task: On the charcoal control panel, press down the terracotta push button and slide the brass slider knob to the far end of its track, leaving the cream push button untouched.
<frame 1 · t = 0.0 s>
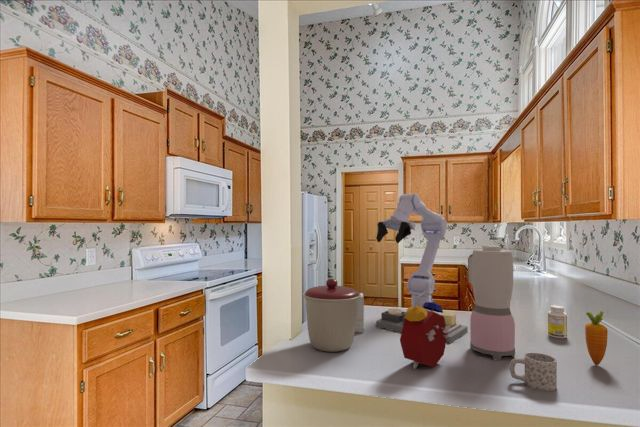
hand: (387, 240, 131), 32 cm above the worktop, tool tilted 50°, fingers open, 7 cm apart
control panel: (420, 329, 133), on the worktop
brass slider: (448, 320, 129), point 4 cm above the worktop, slide at 0.0 cm
mug: (532, 385, 89), on the worktop
blender: (487, 351, 111), on the worktop
canister: (331, 347, 114), on the worktop
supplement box: (353, 330, 132), on the worktop
supplement bottle: (557, 336, 126), on the worktop
terracotta button: (417, 316, 133), point 4 cm above the worktop, slide at 0.0 cm
cream button: (394, 312, 139), point 4 cm above the worktop, slide at 0.0 cm
carrot: (596, 366, 101), on the worktop
alarm clock: (428, 366, 100), on the worktop
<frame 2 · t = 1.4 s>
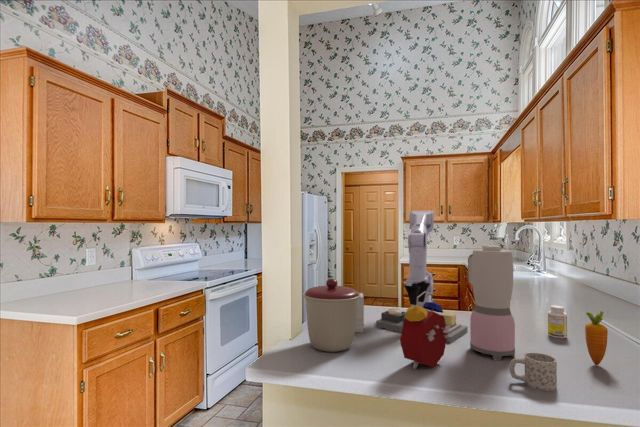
hand: (417, 303, 133), 9 cm above the worktop, tool pointing down, fingers open, 5 cm apart
nothing on the worktop moved.
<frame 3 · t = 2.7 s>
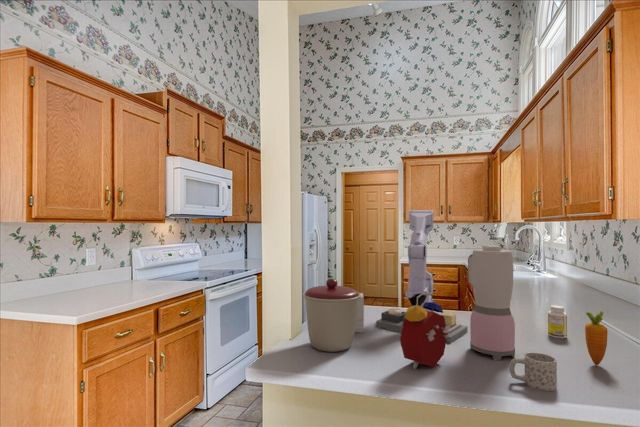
hand: (417, 314, 133), 5 cm above the worktop, tool pointing down, fingers closed, pressing on terracotta button
terracotta button: (417, 317, 133), point 4 cm above the worktop, slide at -0.1 cm, touching gripper
everything else where it was.
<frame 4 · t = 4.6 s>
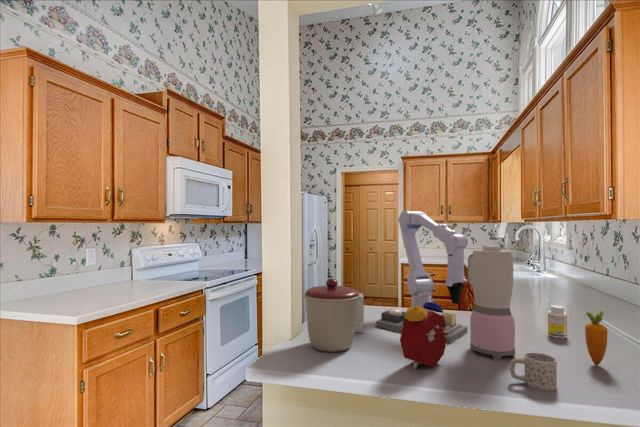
hand: (455, 303, 135), 9 cm above the worktop, tool pointing down, fingers closed
terracotta button: (417, 319, 133), point 3 cm above the worktop, slide at -0.9 cm
everything else where it was.
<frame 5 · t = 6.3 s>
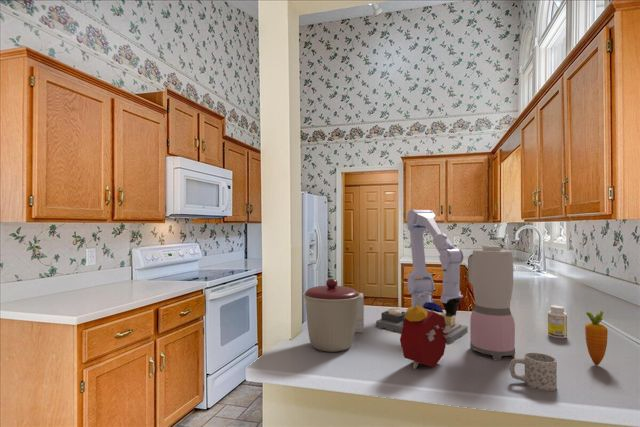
hand: (451, 319, 131), 4 cm above the worktop, tool pointing down, fingers closed
brass slider: (447, 320, 129), point 4 cm above the worktop, slide at 0.9 cm, touching gripper
everything else where it was.
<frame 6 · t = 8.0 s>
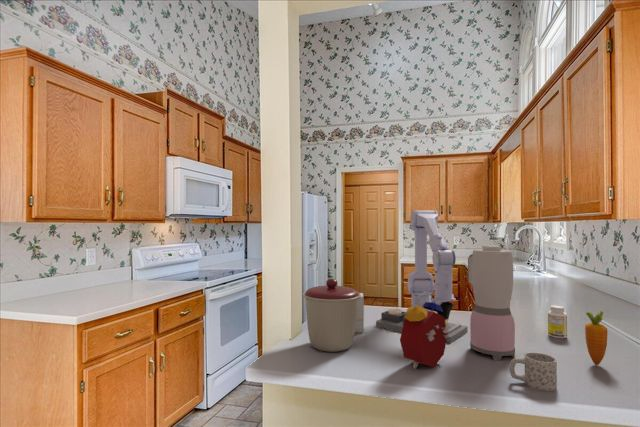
hand: (443, 323, 126), 4 cm above the worktop, tool pointing down, fingers closed
brass slider: (439, 324, 124), point 4 cm above the worktop, slide at 7.8 cm, touching gripper
everything else where it was.
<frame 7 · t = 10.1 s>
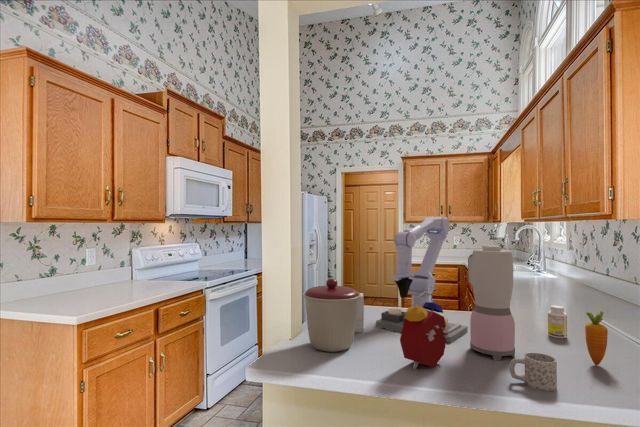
hand: (403, 297, 143), 9 cm above the worktop, tool pointing down, fingers closed
brass slider: (439, 324, 124), point 4 cm above the worktop, slide at 7.8 cm
everything else where it was.
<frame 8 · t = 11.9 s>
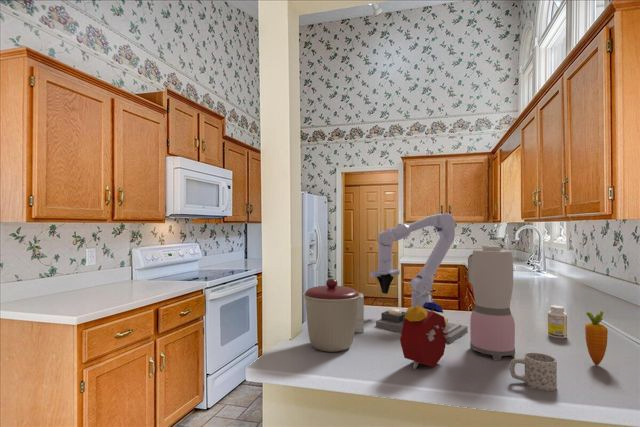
hand: (384, 293, 151), 9 cm above the worktop, tool pointing down, fingers closed
nothing on the worktop moved.
at the end: terracotta button slide at -0.9 cm; brass slider slide at 7.8 cm; cream button slide at 0.0 cm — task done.
